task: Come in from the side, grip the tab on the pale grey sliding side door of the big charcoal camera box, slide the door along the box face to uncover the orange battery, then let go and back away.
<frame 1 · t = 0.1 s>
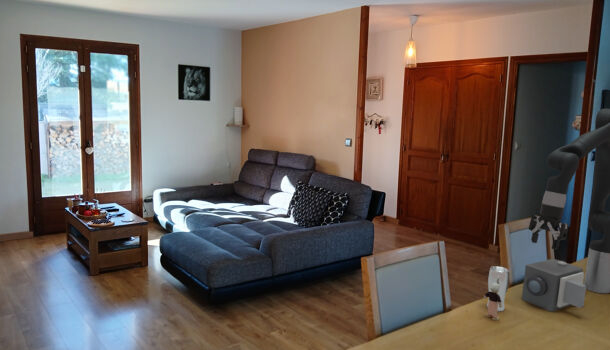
hand: (543, 245, 172), 22 cm above the table, tool pointing down, fingers open, 8 cm apart
side door: (578, 292, 167), point 7 cm above the table, slide at 0.0 cm
grandmother figurine: (491, 317, 161), on the table
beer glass: (495, 308, 168), on the table
camera box: (549, 301, 176), on the table
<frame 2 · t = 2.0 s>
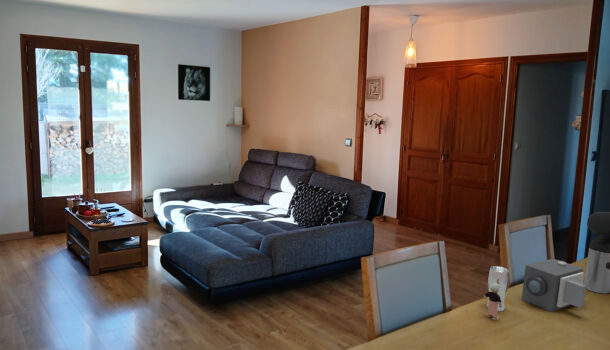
nothing on the table moved.
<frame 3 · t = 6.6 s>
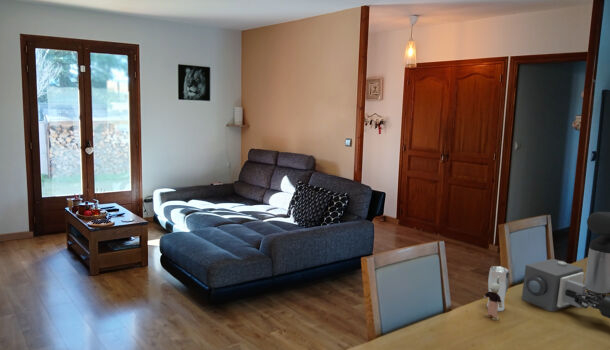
hand: (568, 291, 166), 8 cm above the table, tool horizontal, fingers closed on side door, 2 cm apart
side door: (579, 292, 167), point 8 cm above the table, slide at 0.0 cm, touching gripper
everything else where it was.
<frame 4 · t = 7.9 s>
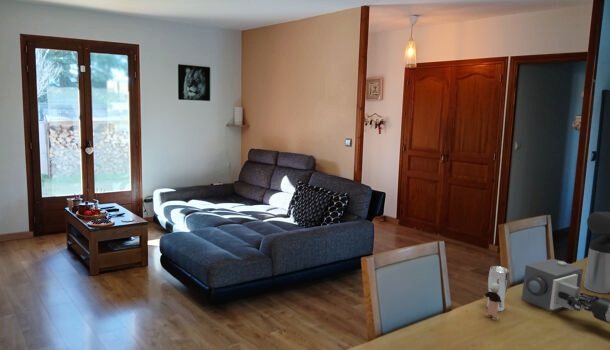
hand: (561, 293, 164), 8 cm above the table, tool horizontal, fingers closed on side door, 2 cm apart
side door: (572, 294, 164), point 8 cm above the table, slide at 4.5 cm, touching gripper
everything else where it was.
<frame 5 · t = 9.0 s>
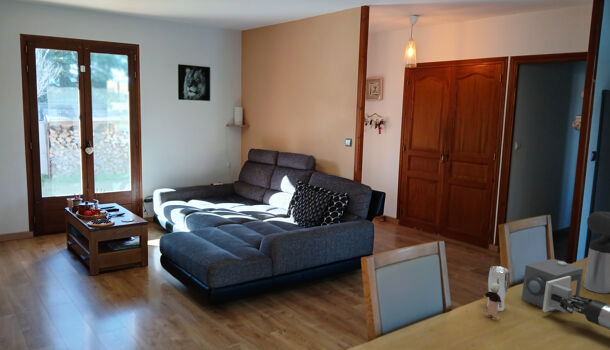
hand: (554, 295, 161), 8 cm above the table, tool horizontal, fingers closed on side door, 2 cm apart
side door: (565, 296, 162), point 8 cm above the table, slide at 8.9 cm, touching gripper
everything else where it was.
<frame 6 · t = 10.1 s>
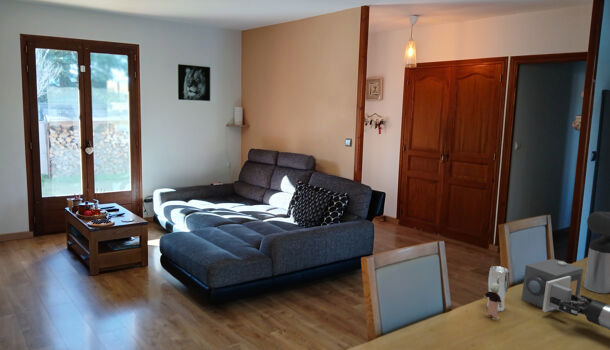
hand: (557, 297, 160), 8 cm above the table, tool horizontal, fingers open, 8 cm apart
side door: (565, 296, 162), point 8 cm above the table, slide at 8.9 cm
everything else where it was.
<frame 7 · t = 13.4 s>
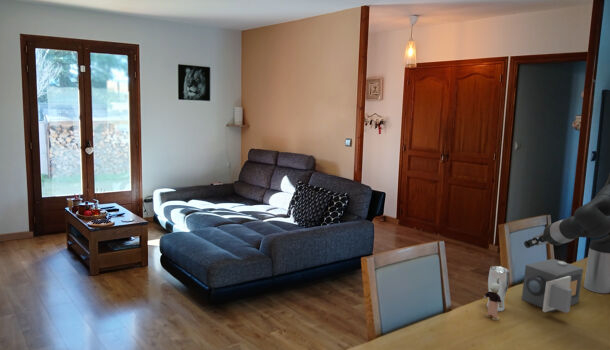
hand: (535, 241, 170), 24 cm above the table, tool tilted 60°, fingers open, 8 cm apart
nothing on the table moved.
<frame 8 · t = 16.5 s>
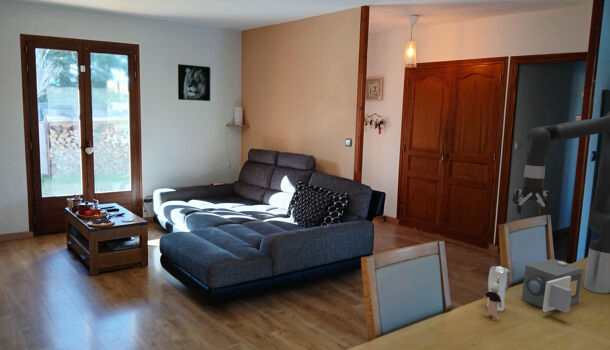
hand: (529, 214, 190), 30 cm above the table, tool pointing down, fingers open, 8 cm apart
nothing on the table moved.
at the end: side door slide at 8.9 cm; the gripper is holding nothing; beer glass moved 0.2 cm from its start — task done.
